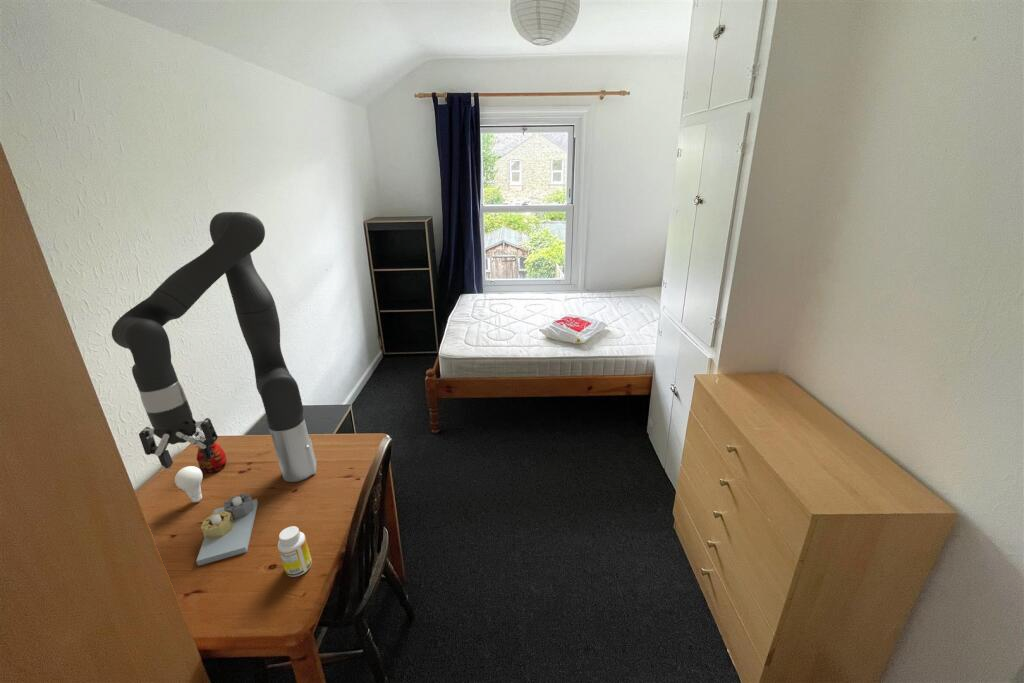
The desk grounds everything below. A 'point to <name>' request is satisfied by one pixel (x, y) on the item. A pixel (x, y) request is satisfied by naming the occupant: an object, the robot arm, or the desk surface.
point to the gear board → (237, 537)
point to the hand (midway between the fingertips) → (189, 462)
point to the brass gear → (218, 526)
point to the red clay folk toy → (212, 460)
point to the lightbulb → (190, 482)
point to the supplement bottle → (294, 551)
